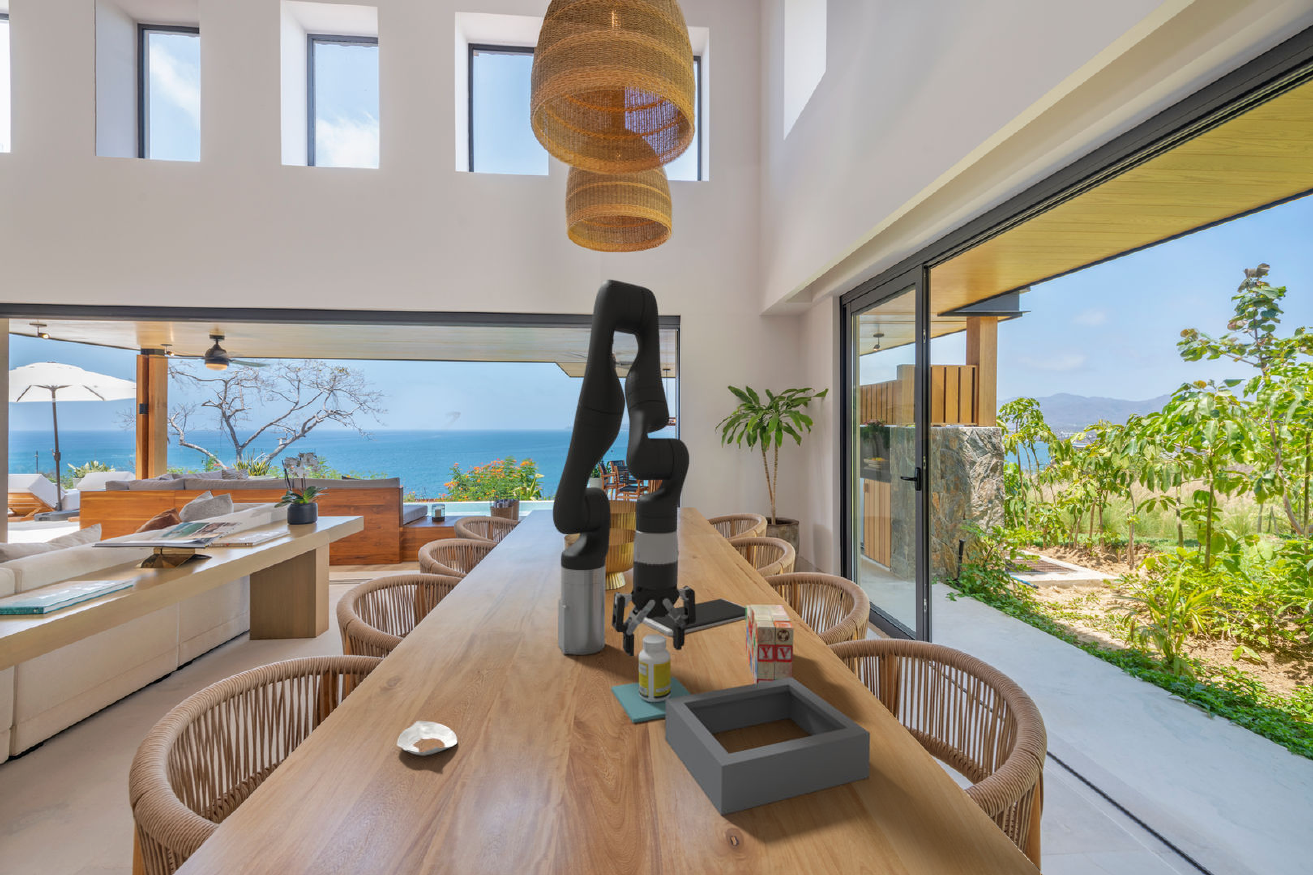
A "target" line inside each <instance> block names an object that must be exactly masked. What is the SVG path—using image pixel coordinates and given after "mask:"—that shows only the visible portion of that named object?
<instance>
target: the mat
mask: <svg viewBox="0 0 1313 875" xmlns="http://www.w3.org/2000/svg"><path fill="white" fill-rule="evenodd" d="M610 688H611V690H610V691H611V692H612V693H613V695H614V696H615V699H616V700H617V701H618V702H619V705H621V707H622V708H623V710H624V712H625V713H626V715H627V716H628V717H629V719H630V720H631V722H632V723H633V724H635V723H640V722H646V721H651V719H653V720H657V719H658V720H659V719H662V718H663V717H664V718H666V700H665V701H661V702H648V701H645V700H643V699H642V698H641V697H640V695H639V681H638V682H633V683H626V684H619V685H613V686H611V687H610ZM686 695H692V693H690V692H689V691H688V689H687V688H686V687H685V686H684V685H683V684H682V683H681V682H680V680H678V679H677V678H676V677H675V676H671V694H670V697H669V698H675V697H680V696H686ZM669 698H668V699H669Z"/></svg>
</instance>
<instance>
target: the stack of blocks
mask: <svg viewBox="0 0 1313 875" xmlns="http://www.w3.org/2000/svg"><path fill="white" fill-rule="evenodd" d="M744 607H745V618H744V619H745V650H746V655H747V656H746V657H747V660H748V664H750V665H749V666H750V667H751V668H750V671H751V675H752V680H753V681H754V682H753V684H756V683H762V682H768V681H774V680H780V679H786V678H791V677H792V678H793V661H794V632H795V631H794V630H795V629H794V627H793V624H792V623H791V619H790V617H789V615H788V613H787V612H786V610H785V609H784V606H783V605H782V604H747V605H746V604H745V606H744Z"/></svg>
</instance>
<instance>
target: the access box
mask: <svg viewBox="0 0 1313 875" xmlns="http://www.w3.org/2000/svg"><path fill="white" fill-rule="evenodd" d="M664 718H665V719H664V720H665V727H664V728H665V729H664V730H665V732H664V733H665V734H664V735H665V736H664V738H665V741H666V742H667V744H668V745H669V746H670V747H671V750H673V752H674V754H676V756H677V757H678V758H680V759H679V760H680V761H681V763H682V762H683V763H682V764H683V765H684V767H685V768H686V770H687V771H688V773H689V774H690V775H691V776H692V778H693V779H694V780H695V782H696V783H697V784H698V786H699V787H700V789H701V790H702V791H703V793H704V794H705V796H706V797H707V798H708V800H710V802H711V803H712V805H713V807H714V808H715V809H716V811H718V813H719V814H720V816H724V815H728V814H729V815H730V814H733V813H737V812H739V811H744V810H747V809H752V808H757V807H760V806H764V805H767V804H771V803H774V802H779V801H783V800H787V799H790V798H794V797H799V796H802V795H806V794H809V793H815V792H817V791H821V790H825V789H829V788H833V787H837V786H841V785H845V784H849V783H853V782H857V781H860V780H865V779H868V778H870V755H871V754H870V748H871V746H870V743H871V732H870V731H868V730H867V729H865V728H864V727H862V726H861V724H858V723H857V722H856V721H854V720H853V719H851V718H850V717H848V716H847V715H846V714H844V713H843V712H841V711H840V710H839V709H837V708H836V707H834V706H833V705H832V704H830V703H829V702H827V700H825V699H823V698H821V697H820V696H819V695H817V694H816V693H814V691H812V690H810V689H809V688H807V687H806V686H804V685H803V684H802V683H801V682H799V681H798V680H796V679H795V678H794V677H793V676H792V677H791V678H786V679H780V680H774V681H768V682H762V683H756V684H754V683H751V684H746V685H740V686H734V687H728V688H727V687H726V688H723V689H717V690H710V691H706V692H700V693H693V694H692V693H691V695H686V696H680V697H675V698H669V699H666V717H664ZM782 719H783V720H786V719H787V720H788V719H790V720H791V721H792V722H794V723H795V724H796V725H797V726H798V727H800V728H801V729H802V730H803V731H804V732H806V733H807V734H808V735H809V736H806V737H800V738H796V739H790V740H786V741H782V742H777V743H772V744H769V745H763V746H759V747H754V748H749V749H744V750H741V751H735V752H731V753H729V752H728V751H727V750H726V749H725V747H723V745H721V743H720V742H719V741H718V740H717V739H716V738H715V736H713V734H717V732H718V733H722V732H727V731H731V730H737V729H741V728H747V727H752V725H753V726H756V725H757V724H758V725H762V724H761V723H763V724H767V723H772V722H776V721H783V720H782Z"/></svg>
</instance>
